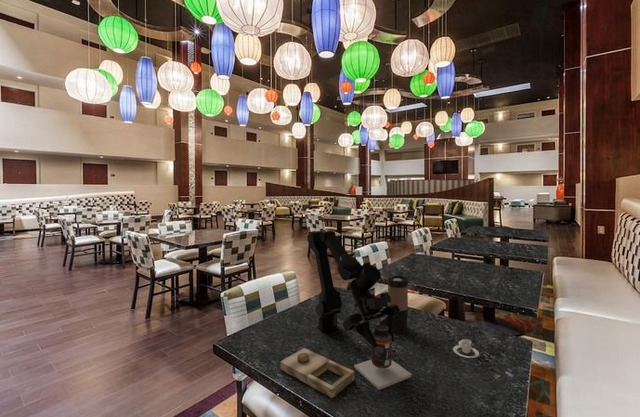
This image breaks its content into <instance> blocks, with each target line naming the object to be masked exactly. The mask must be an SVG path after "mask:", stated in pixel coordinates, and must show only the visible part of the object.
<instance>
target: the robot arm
mask: <svg viewBox="0 0 640 417" xmlns="http://www.w3.org/2000/svg"><path fill="white" fill-rule="evenodd" d="M307 242H308V245H309V248H310V249H311V251H312V252H313V253H314V255H315V260H316V265H317V266H316V267H317V272H318V276H319V278H318V279H319V282H320V287H321V288H320V289H321V291H320V294H319V297H318V300H319V303H318V304H317V305H316V307H315V313H316V314H317V315H318V316H319V318H318V325H317V328H318V329H320V330H321V331H323V333H326V334H328V333H331V332H334V331H337V330H338V331H339V330H340V327H339V326H338V314H340V313H341V311H342V307H343V300H342V297H341V292H340V291H339V290H336V288H335V285H334V281H333V277H332V276H333V275H332V272H331V266H330V262H329V255H328V250H329V252H330V253H331V255H332V256H333V259H334V260H335V261H336V263H337V268H336V269H337V272H338V274H339V277H340V278H341V279H342V280H343V281H349V280H351V282H348V283H347V286H346V291H348V292H351V295H352V297H353V299H354V302H355V303H354V307H355V308H357V309H358V311H359V313H358V312H357V313H354V314H350V315H348V316H347V317H346V318H345V320H343V324H342V326H343V329H344V331H345V332H349V331H351V330H352V331H353V332H354V333H358V334H359V335H360V336H362V337H363V338H364V339H365V340H366V341H367V342H368V343H369V344H370V345H371V347H372V346H373V347H374V348H376V347H377V344H376V341H375V339H374V337H373V332H372V331H371V328H370V322H371V321H373V320H378V319H380V320H381V321H380V322H379V325H385V326H387V327H388V330H389V332H388V333H389V334H390V335H391V337H392V343H394V342H395V339H394V332H393V330H392V319H393V317H395V316H396V315H397V314H398V313H399V312H400V309H399V307H398V305H396V304H393V305H389V306H388V303H389V302H391V297H390V295H389V294H388V291H386V292H381V293H380V295H379V296H378V297H377V296H376V295H375V293H372V292H371V291H370V290H371V289H372V288H373V287H374V286H375V285H376V284H377V283H378V282H379V280H381V277H382V273H381V271H380V270H379V269H378V268H377V267H376V266H374V265H372V264H371V263H370V262H369V261H368V262H363V264H361V262H360V261H358V260H357V258H355V257H354V256H353V255H352V256H351V255H350V254H349V253H348V251H347V250H346V248H345V247H344V246H343V244H342V243H341V241H340V240H339V238H338V237H337V234H336V232H335V231H334V230H317V231H316V230H315V231H314V230H313V231H310V232H309V234H307ZM383 307H384V308H383Z"/></svg>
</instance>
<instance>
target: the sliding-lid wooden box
mask: <svg viewBox="0 0 640 417" xmlns="http://www.w3.org/2000/svg"><path fill="white" fill-rule="evenodd" d="M280 371H283V372H285V373H286V374H288V375H290V376H291V377H293V378H296V379H297V380H299V381H301V382H303V383H304V384H306V385H307V386H309V387H311V388H313V389H315V390H317V391H319V392H320V393H322V394H324V395H325V396H327V397H329V398H330V399H333V398H334V397H336V396H337V395H338V394H339V393H341V391H343V390H344V389H345V388H346V387H348V386H349V385H350V384H351V383H353V381H355V371H354V370H353V369H350V368H349V367H346V366H344V365H341V364H340V363H337V362H335V361H333V360H331V359H329V358H327V357H326V356H325V357H324V356H322V355H320V354H319V353H317V352H314V351H312V350H310V349H307V348H305V347H303V348H301V349H299V350H298V351H296V352H294V353H293V354H291V355H289V356H288V357H286V358H284V359H283V360H281V361H280ZM326 371H330V372H332V373H335V374H336V375H338V376H340V378H338V379H337V380H336V381H335V382H333V383H332V384H330V383H328V382H326V381H324V380H322V379H320V378H319V376H321V375H322V374H323V373H325V372H326Z"/></svg>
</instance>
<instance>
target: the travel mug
mask: <svg viewBox="0 0 640 417" xmlns="http://www.w3.org/2000/svg"><path fill="white" fill-rule="evenodd" d="M408 282H409V281H408V278H407V277H406V276H401V275H393V276H392V277H387V292H388V294H389V295H390V297H391V302H389V303H388V306H389V305H393V304H396V305H398V307H399V309H400V312H399V313H398V314H397V315H396V316H395V317H393V319H392V330H393V333H398V334H399V333H405V332H406V331H407V330H408V317H409V316H408V315H409V313H408V311H409V310H408V309H409V306H408V305H409V302H408V299H409V298H408V297H409V296H408V294H409V289H408V286H409V283H408Z"/></svg>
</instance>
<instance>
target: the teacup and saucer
mask: <svg viewBox="0 0 640 417" xmlns="http://www.w3.org/2000/svg"><path fill="white" fill-rule="evenodd" d="M459 348H461V350H462V353H465V354H470V352H471V350H472V352H474V355H471V356H470V355H469V356H468V355H464V354H461V353H459V352H458V349H459ZM452 350H453V352H454V353H455V354H456V355H457V356H460V357H462V358H468V359H474V358H478V357H479V356H480V352H479V351H478V350H477V349H476V348H474V347H472V341H471V340H470V339H469V338H468V339H467V338H463V339H461V340H459V341H458V344H457V345H455V346H453V348H452Z"/></svg>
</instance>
